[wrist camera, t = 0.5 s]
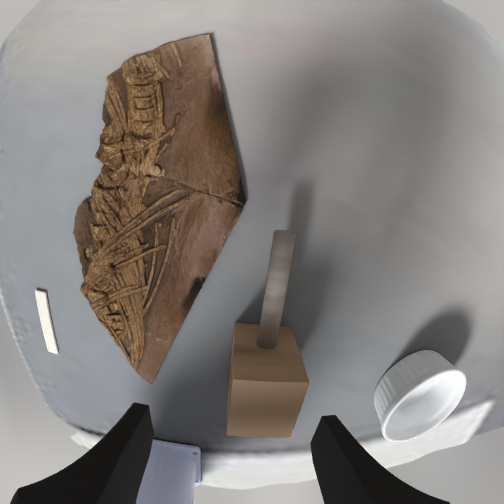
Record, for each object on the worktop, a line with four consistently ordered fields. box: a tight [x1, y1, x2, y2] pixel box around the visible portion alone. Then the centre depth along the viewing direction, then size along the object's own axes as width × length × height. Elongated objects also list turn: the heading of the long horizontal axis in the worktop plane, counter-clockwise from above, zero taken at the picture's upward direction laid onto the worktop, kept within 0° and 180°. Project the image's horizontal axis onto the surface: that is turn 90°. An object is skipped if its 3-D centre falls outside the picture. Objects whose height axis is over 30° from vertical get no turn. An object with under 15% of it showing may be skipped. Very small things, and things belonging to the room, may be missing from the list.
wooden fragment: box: [73, 34, 246, 384], centre depth 17 cm, size 26×11×1 cm, turn 165°
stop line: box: [35, 290, 59, 354], centre depth 19 cm, size 6×1×1 cm, turn 173°
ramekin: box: [374, 350, 466, 442], centre depth 20 cm, size 9×9×4 cm
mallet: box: [226, 230, 309, 437], centre depth 16 cm, size 12×4×6 cm, turn 173°
